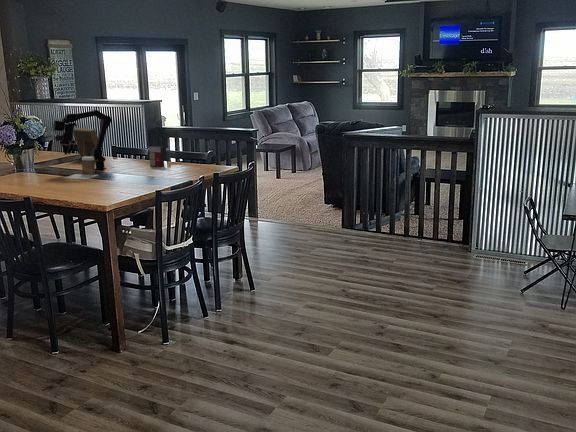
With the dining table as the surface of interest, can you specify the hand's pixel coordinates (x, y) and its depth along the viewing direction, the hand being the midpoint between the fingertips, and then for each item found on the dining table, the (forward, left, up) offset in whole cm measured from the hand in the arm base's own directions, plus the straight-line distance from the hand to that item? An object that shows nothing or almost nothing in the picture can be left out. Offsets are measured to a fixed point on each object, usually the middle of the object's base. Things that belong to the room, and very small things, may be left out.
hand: (67, 154), depth 407 cm
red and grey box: (-36, +50, -13) cm, 63 cm away
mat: (+15, +18, -13) cm, 27 cm away
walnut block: (+5, +18, -13) cm, 23 cm away
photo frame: (-58, -20, -13) cm, 63 cm away
